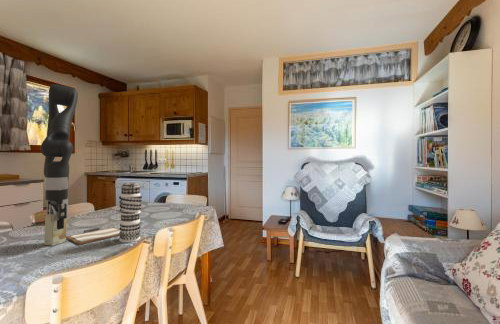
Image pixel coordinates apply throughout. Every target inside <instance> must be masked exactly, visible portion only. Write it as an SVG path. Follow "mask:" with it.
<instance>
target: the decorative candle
mask: <svg viewBox="0 0 500 324" xmlns="http://www.w3.org/2000/svg"><path fill="white" fill-rule="evenodd" d="M120 188H121V191H120V195H119V196H118V198H119V202H118V203H119V208H120V209H119V214H120V220H119V221H120V224H119V230H121V231H120V233H119V234H120V236H118V237H119V240H118V241H119V242H121V243H133V242H137V241H139V240H140V239H141V218H140V217H141V215H140V214H141V213H142V211H141V210H142V204H141V202H142V201H143V200H142V198H143V196H141V185H140V184H139V183H138V182H124V183H123V184H122V185H121V186H120Z"/></svg>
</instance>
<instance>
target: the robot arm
mask: <svg viewBox="0 0 500 324" xmlns="http://www.w3.org/2000/svg"><path fill="white" fill-rule="evenodd" d="M78 98H79V95H78V90H77V89H76V88H73V87H70V86H65V85H61V84H55V83H51V85H49V88H48V117H47V118H48V120H47V128H46V137H45V138H44V139H43V141H42V143H41V145H40V153H41V154H42V155H43V156H44V157H45V158H44V164H43V176H44V177H45V189H44V192H45V194H44V195H45V196H44V199H45V201H46V215H49V214H54V215H55V216H56V218H57V229H63V228H64V219H65V218H67V223H68V221H69V181H70V180H69V179H70V177H69V176H70V164H69V163H70V160H71V156H72V153H73V152H74V145H73V144H72V142H71V141H70V137H71V136H70V135H71V126H72V125H71V124H72V122H73V121H72V120H73V117H74V115H75V112H76V109H77V106H78V105H77V104H78ZM58 106H63V107H66V108H64V109H63V110H62V111H60V109H59V108H58ZM55 158H61V160H57V161H56V160H55ZM61 215H62V216H61Z"/></svg>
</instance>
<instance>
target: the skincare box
mask: <svg viewBox="0 0 500 324" xmlns="http://www.w3.org/2000/svg"><path fill="white" fill-rule="evenodd" d="M61 216H62V215H61ZM44 219H45V220H44V241H43V242H44V246H56V245H60V244H63V243H64V242H67V238H66V236H67V226H68V225H67V223H68V222H67V218H65V219H64V228H63V229H57V218H56V216H55V215H54V214H49V215H47V214H45V218H44Z"/></svg>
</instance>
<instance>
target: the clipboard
mask: <svg viewBox="0 0 500 324" xmlns="http://www.w3.org/2000/svg"><path fill="white" fill-rule="evenodd" d="M120 231H121V230H120V228H119V229H118V228H116V227H114V226H113V227H111V226H110V227H107V228H102V229H100V227H94V228H90V229H85V230H83V232H82V233H78V234H77V233H76V234H73V235H66V240H69V241H71V242H72V243H75V244H76V245H78V246H82V245H86V244H91V243H95V242H98V241H99V242H100V241H103V240H107V239H112V238H118V237H119V236H120V234H119V233H120Z"/></svg>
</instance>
